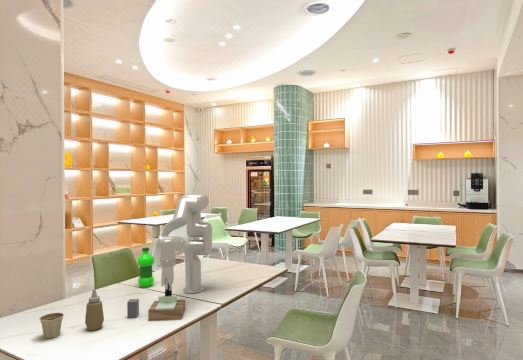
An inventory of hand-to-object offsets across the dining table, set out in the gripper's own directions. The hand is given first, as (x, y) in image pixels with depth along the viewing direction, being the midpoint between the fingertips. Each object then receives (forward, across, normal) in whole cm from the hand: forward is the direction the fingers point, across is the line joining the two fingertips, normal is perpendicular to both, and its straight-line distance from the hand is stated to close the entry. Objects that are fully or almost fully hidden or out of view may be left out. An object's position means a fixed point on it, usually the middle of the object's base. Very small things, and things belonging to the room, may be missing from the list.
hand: (168, 298), depth 183 cm
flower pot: (+8, +22, -47) cm, 53 cm away
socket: (+7, +3, 0) cm, 8 cm away
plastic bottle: (+7, -50, -23) cm, 55 cm away
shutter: (+2, +6, 0) cm, 7 cm away
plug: (+7, +3, -17) cm, 19 cm away
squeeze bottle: (+8, +16, -31) cm, 36 cm away
